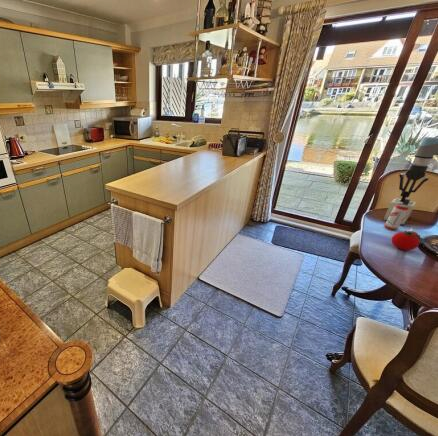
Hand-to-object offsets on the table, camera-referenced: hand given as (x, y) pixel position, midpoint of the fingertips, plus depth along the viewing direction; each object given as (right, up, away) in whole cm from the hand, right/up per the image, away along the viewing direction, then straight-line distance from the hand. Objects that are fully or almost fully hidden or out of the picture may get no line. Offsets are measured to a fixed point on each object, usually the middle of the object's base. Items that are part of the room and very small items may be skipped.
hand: (402, 201), depth 156 cm
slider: (+1, -2, -1) cm, 2 cm away
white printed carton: (+3, -12, +8) cm, 15 cm away
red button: (-12, -20, -17) cm, 29 cm away
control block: (-12, -24, -15) cm, 31 cm away
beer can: (-10, -17, -3) cm, 21 cm away
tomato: (-24, -27, -22) cm, 42 cm away
